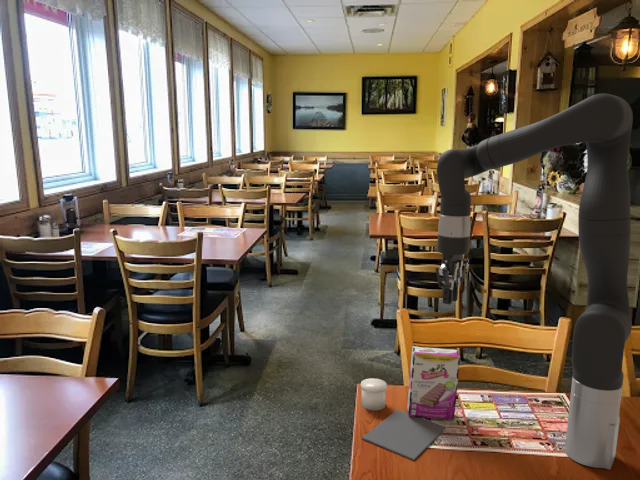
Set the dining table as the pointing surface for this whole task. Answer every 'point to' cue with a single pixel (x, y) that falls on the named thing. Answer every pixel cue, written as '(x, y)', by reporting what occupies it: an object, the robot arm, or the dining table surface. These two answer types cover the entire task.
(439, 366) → the candy bar box
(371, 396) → the sugar bowl
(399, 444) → the mat
